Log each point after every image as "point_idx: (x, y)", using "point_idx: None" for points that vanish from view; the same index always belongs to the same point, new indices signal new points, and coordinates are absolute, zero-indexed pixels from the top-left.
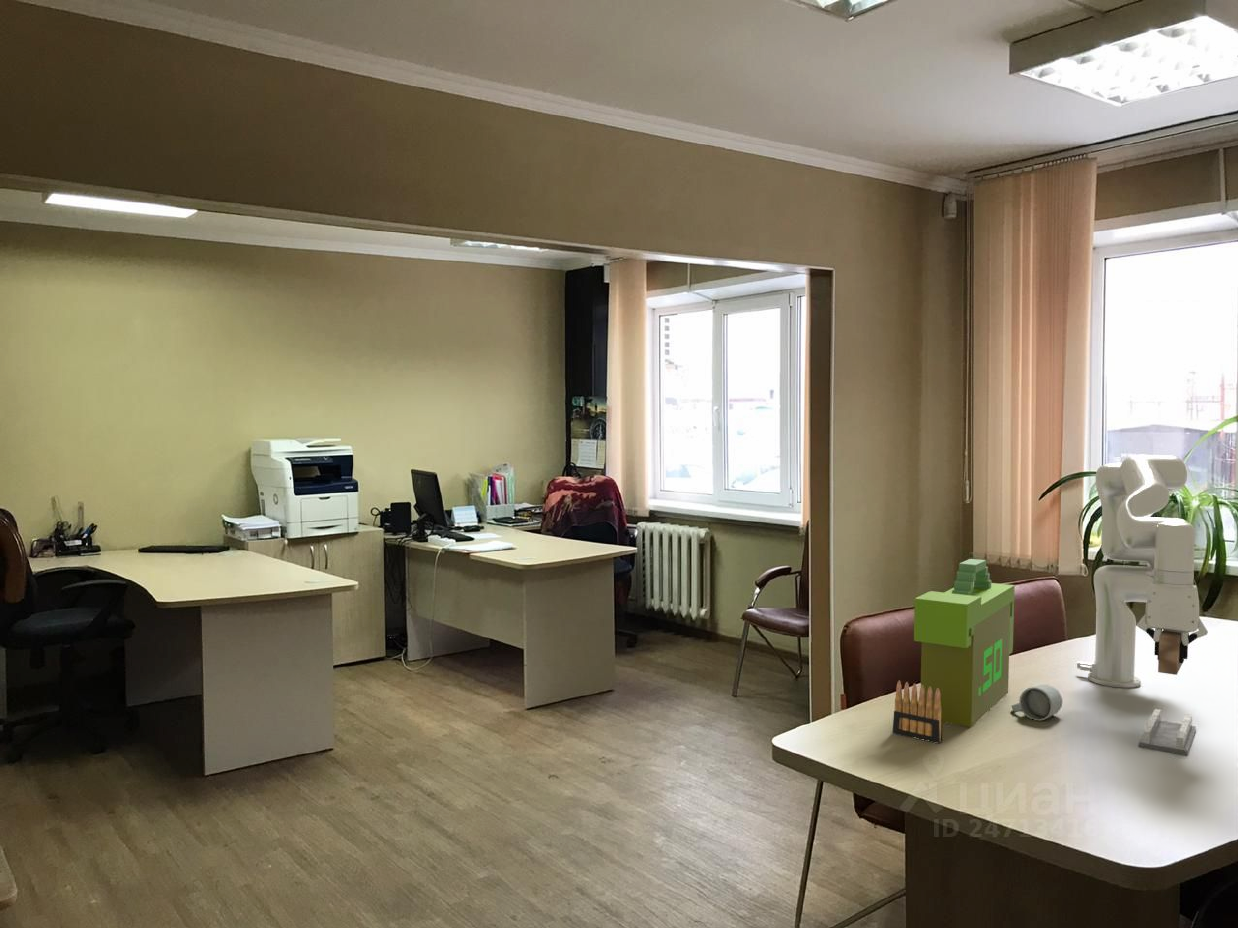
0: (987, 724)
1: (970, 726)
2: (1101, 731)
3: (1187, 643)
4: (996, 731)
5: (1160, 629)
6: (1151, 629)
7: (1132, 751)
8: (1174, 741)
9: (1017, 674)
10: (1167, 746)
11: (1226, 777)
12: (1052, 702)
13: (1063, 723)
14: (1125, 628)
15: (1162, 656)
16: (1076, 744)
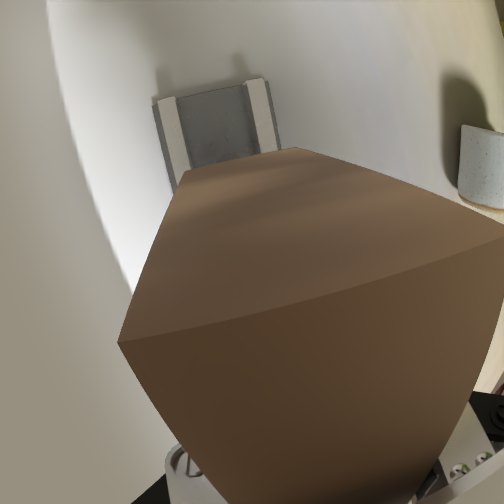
0: (497, 50)
1: (501, 22)
2: (367, 141)
3: (177, 461)
4: (476, 17)
5: (456, 476)
6: (497, 439)
7: (262, 35)
8: (202, 160)
9: (491, 356)
10: (200, 101)
11: (54, 38)
12: (480, 133)
13: (434, 143)
14: (410, 500)
15: (308, 166)
16: (368, 8)
